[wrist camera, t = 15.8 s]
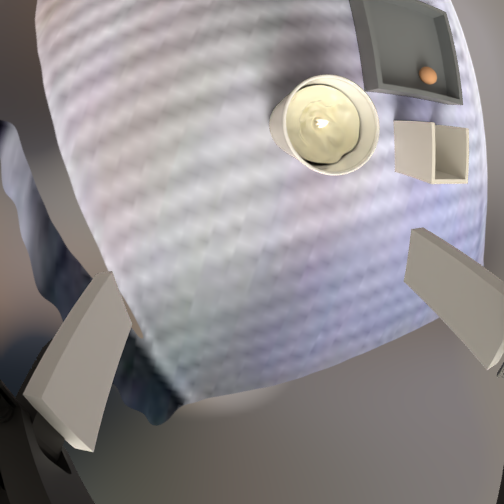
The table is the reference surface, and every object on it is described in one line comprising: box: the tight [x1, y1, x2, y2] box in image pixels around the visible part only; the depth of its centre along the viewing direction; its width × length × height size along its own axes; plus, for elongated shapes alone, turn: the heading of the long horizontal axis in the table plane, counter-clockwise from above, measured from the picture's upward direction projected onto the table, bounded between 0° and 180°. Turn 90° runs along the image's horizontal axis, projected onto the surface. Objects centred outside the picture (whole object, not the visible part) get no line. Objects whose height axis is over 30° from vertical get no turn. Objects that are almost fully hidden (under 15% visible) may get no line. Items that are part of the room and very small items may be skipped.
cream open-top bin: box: [393, 121, 469, 184], centre depth 32 cm, size 8×8×9 cm
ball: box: [419, 67, 437, 85], centre depth 29 cm, size 3×3×3 cm
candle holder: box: [269, 74, 380, 175], centre depth 28 cm, size 10×10×12 cm
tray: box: [349, 0, 463, 105], centre depth 27 cm, size 18×18×4 cm
